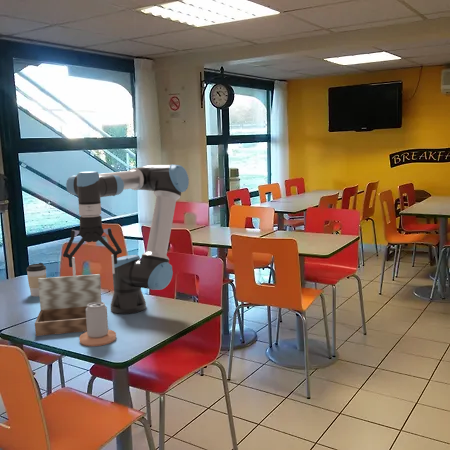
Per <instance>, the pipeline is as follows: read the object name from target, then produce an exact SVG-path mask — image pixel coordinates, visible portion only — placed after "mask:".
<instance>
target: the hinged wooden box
mask: <svg viewBox="0 0 450 450" xmlns="http://www.w3.org/2000/svg"><path fill="white" fill-rule="evenodd" d="M38 283H39V296H38V297H39V307H40V311H39V312H38V315H37V317H36V319H35V322H34V330H35V337H39V336H40V337H42V336H51V335H59V334H70V333H71V334H72V333H83V332H84V333H85V332H87V324H86V308H87V307H88V306H87V305H88V304H89V303H92V302H102V289H101V287H102V286H101V274H100V273H97V274H96V273H95V274H83V275H76V276H75V277H73V275H67V276H55V277H46V278H38Z"/></svg>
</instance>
